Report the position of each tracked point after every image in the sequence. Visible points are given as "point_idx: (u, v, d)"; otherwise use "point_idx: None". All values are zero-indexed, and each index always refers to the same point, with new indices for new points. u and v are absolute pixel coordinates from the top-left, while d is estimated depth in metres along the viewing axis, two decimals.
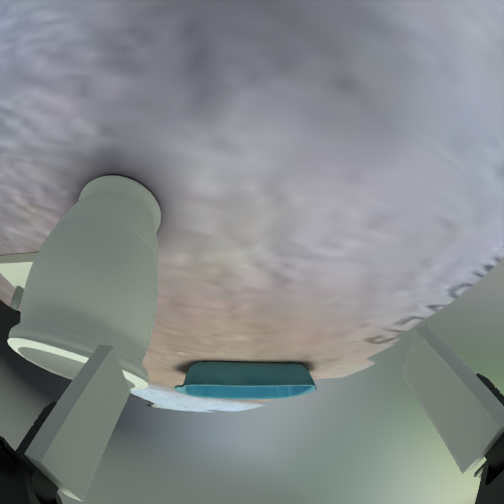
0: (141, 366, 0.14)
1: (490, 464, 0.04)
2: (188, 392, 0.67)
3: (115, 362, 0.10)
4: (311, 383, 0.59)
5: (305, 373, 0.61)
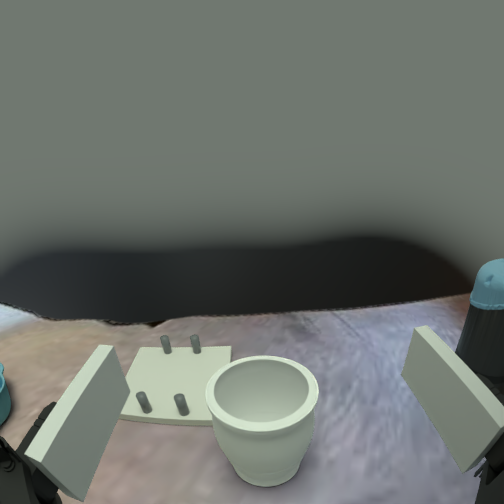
0: (267, 435, 0.19)
1: (490, 464, 0.04)
2: None
3: (115, 362, 0.10)
4: None
5: None
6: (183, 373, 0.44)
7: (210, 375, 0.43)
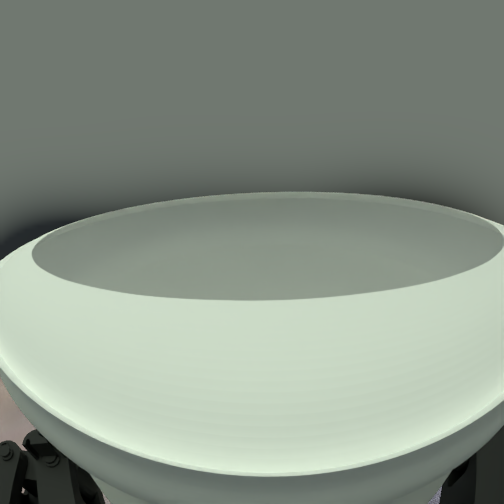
0: None
1: None
2: None
3: None
4: None
5: None
6: None
7: None
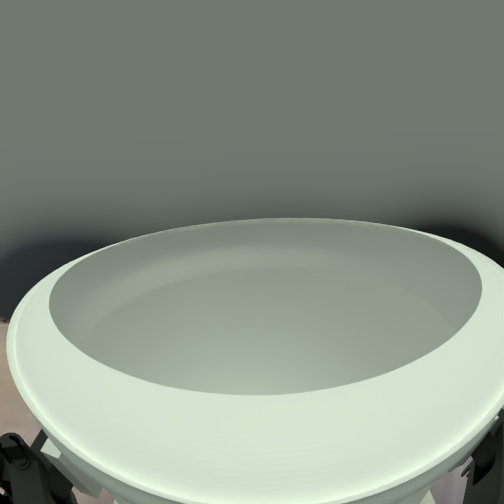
0: None
1: (477, 464, 0.04)
2: None
3: None
4: None
5: None
6: None
7: None
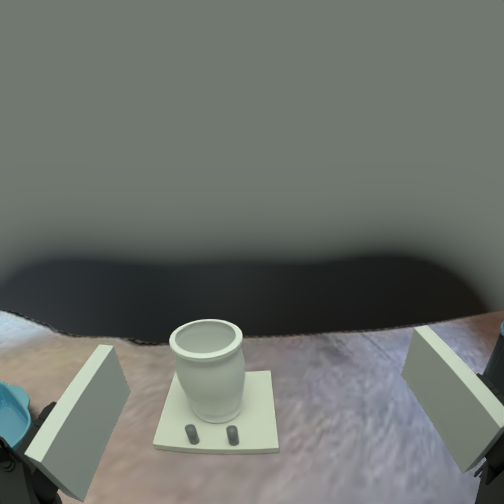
0: (203, 362, 0.33)
1: (490, 464, 0.04)
2: (4, 387, 0.32)
3: (115, 362, 0.10)
4: None
5: None
6: None
7: (254, 402, 0.42)
